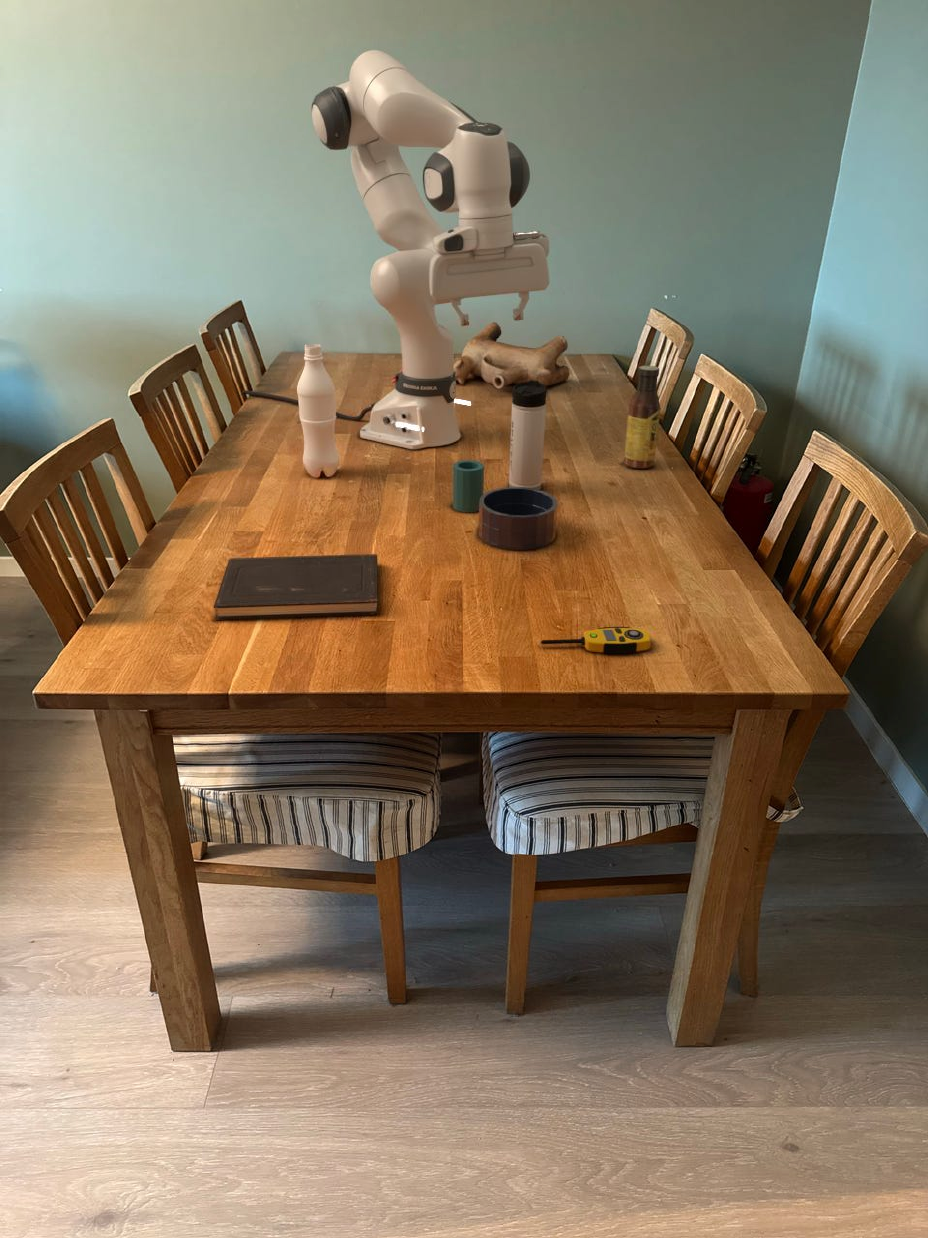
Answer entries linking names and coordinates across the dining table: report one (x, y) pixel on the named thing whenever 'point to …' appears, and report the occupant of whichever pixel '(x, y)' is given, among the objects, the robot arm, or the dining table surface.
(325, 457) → the water bottle
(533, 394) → the travel mug
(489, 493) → the pot
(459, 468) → the teal hollow cylinder
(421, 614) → the dining table surface
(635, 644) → the yellow walkie talkie
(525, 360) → the ceramic vessel
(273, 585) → the hardcover book
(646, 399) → the sauce bottle
